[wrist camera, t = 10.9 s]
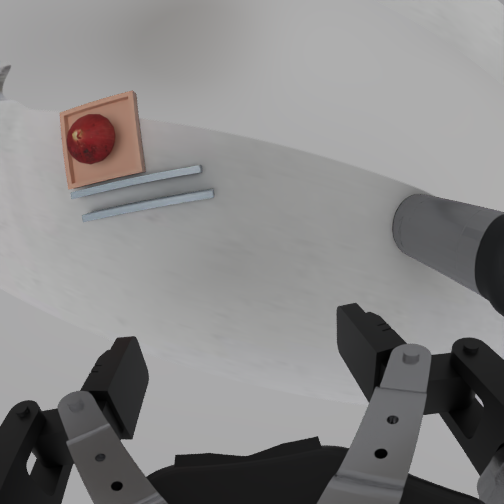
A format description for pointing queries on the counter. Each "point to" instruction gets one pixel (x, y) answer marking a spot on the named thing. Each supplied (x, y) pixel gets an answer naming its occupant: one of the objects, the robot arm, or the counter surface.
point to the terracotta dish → (125, 147)
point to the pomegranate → (91, 138)
